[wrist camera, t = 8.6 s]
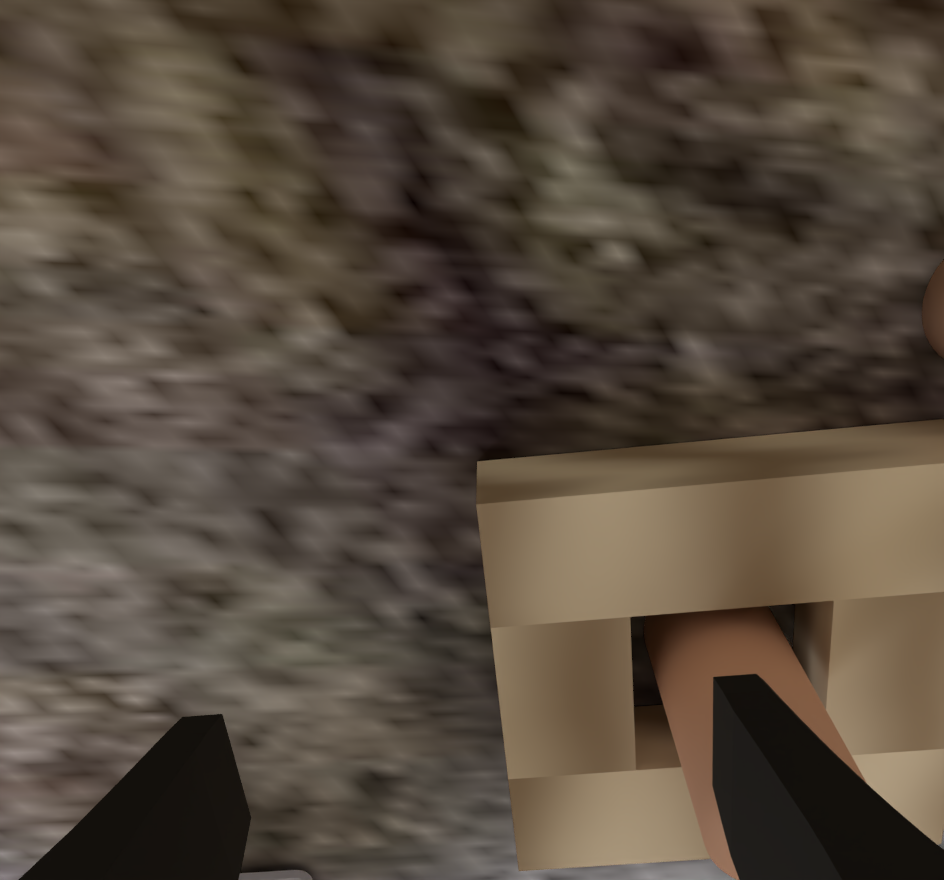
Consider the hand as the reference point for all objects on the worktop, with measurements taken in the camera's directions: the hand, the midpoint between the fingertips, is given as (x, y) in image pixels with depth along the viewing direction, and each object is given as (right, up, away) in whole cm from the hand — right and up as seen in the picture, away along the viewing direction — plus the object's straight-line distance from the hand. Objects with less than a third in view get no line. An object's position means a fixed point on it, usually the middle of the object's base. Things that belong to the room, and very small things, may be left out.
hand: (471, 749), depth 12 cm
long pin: (+7, -1, +12) cm, 13 cm away
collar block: (+7, -1, +12) cm, 13 cm away
